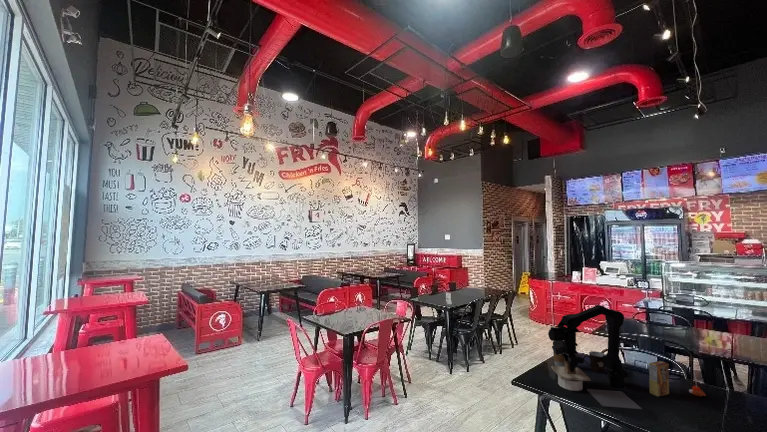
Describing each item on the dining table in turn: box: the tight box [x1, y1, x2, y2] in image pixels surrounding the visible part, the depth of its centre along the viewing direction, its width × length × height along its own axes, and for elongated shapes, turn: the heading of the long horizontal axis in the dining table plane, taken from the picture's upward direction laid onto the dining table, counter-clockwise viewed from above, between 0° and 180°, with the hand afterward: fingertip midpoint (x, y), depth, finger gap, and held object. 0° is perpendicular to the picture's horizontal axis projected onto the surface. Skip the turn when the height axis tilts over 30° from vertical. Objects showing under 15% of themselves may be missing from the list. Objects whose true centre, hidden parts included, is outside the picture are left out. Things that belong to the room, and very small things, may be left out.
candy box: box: [648, 360, 670, 397], centre depth 169 cm, size 9×4×15 cm, turn 110°
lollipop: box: [688, 371, 707, 397], centre depth 167 cm, size 6×10×12 cm, turn 146°
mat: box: [585, 388, 643, 410], centre depth 162 cm, size 17×17×1 cm
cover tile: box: [550, 361, 591, 382], centre depth 176 cm, size 14×14×6 cm
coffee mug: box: [582, 350, 607, 375], centre depth 196 cm, size 12×9×10 cm
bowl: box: [557, 375, 584, 392], centre depth 175 cm, size 11×11×5 cm
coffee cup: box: [552, 340, 565, 367], centre depth 202 cm, size 8×8×15 cm
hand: (570, 370), depth 176 cm, fingers closed on cover tile, 4 cm apart
